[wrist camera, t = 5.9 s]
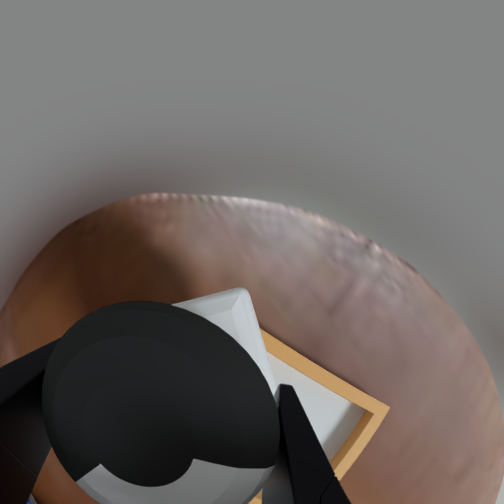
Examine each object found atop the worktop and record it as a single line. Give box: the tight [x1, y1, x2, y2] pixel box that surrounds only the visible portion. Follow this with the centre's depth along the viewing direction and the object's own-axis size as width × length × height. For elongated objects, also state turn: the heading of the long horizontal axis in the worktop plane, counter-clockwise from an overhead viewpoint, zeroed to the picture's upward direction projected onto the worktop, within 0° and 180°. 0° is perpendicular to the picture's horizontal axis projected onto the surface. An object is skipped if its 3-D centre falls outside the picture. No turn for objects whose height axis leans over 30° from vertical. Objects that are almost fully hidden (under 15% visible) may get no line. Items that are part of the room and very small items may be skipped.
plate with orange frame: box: [248, 329, 390, 504], centre depth 17 cm, size 22×15×2 cm
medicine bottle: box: [42, 287, 280, 504], centre depth 10 cm, size 7×7×12 cm
